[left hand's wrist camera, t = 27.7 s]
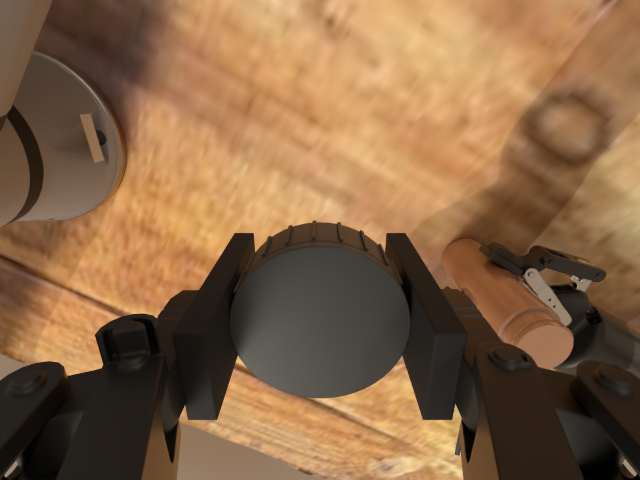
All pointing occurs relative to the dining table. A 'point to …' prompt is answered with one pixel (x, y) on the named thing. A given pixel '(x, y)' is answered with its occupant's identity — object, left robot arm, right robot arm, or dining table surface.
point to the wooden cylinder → (508, 304)
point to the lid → (320, 311)
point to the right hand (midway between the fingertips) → (465, 272)
